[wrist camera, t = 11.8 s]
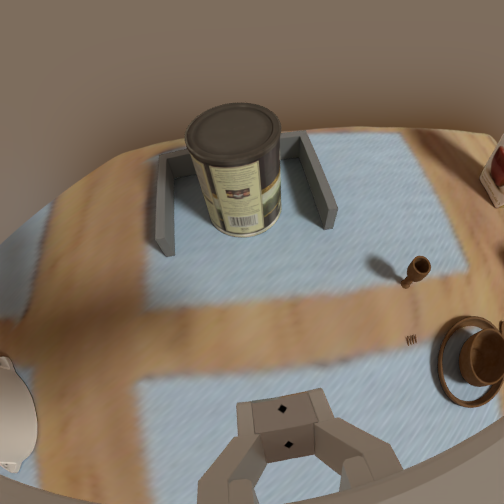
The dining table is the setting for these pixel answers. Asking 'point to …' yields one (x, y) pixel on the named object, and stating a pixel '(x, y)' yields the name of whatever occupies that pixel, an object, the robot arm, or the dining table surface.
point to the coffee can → (238, 166)
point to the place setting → (468, 347)
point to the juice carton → (495, 175)
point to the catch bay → (183, 166)
